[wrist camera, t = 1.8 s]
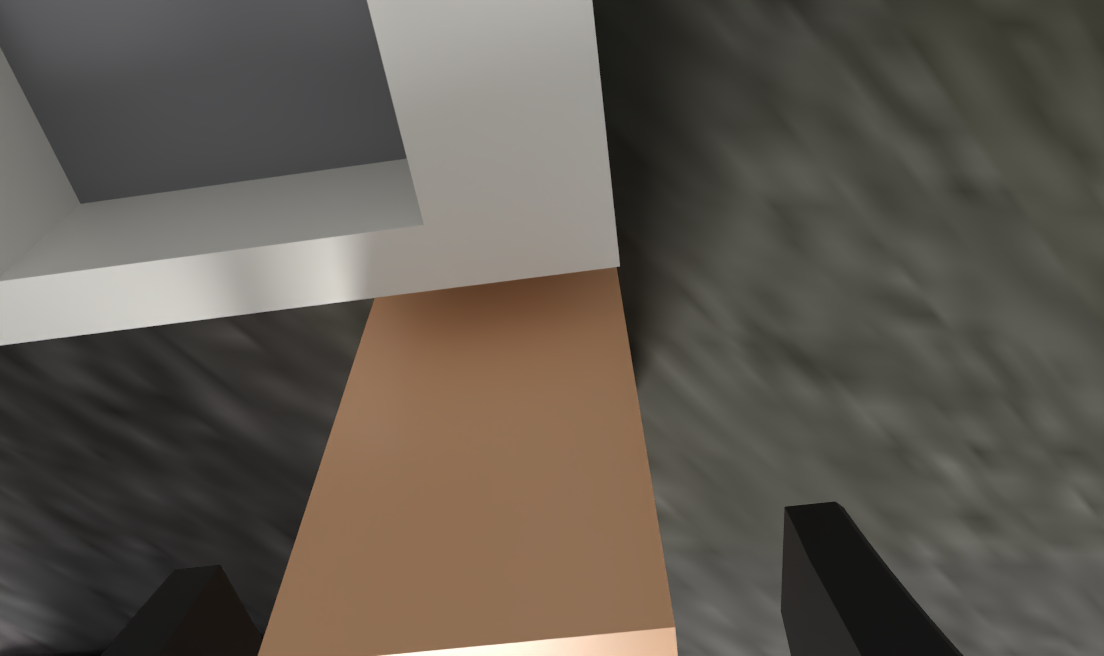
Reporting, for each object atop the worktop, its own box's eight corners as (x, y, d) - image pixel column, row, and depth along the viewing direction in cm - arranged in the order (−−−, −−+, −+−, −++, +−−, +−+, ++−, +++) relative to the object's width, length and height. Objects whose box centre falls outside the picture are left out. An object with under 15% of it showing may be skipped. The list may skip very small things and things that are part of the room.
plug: (629, 405, 16) (692, 832, 10) (436, 427, 16) (366, 858, 10) (610, 229, 14) (674, 626, 7) (387, 259, 14) (252, 668, 8)
